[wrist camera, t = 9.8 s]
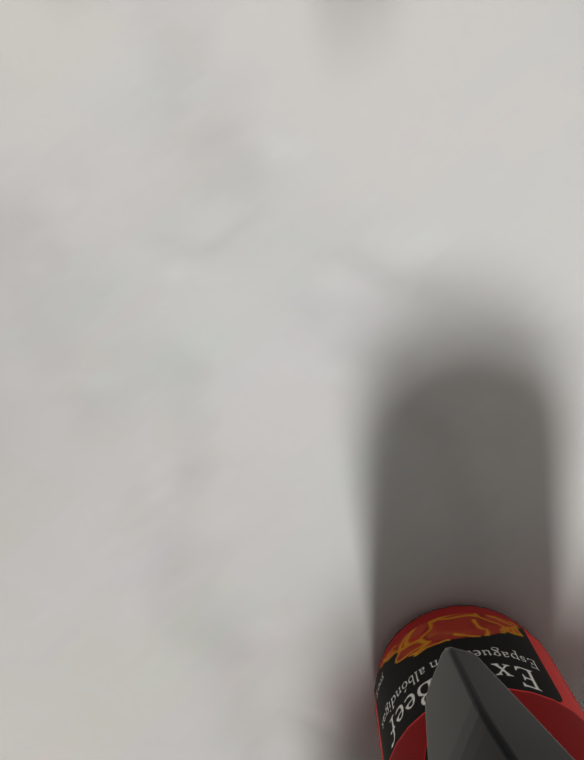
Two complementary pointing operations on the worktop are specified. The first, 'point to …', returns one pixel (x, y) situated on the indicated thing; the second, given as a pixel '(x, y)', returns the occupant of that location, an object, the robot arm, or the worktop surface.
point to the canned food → (495, 649)
